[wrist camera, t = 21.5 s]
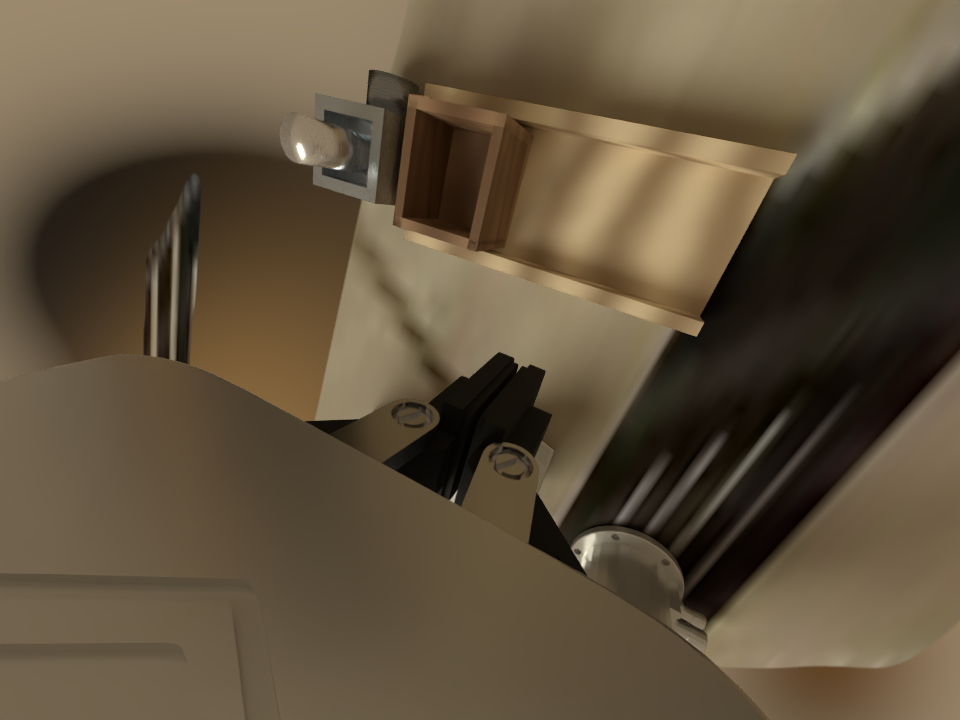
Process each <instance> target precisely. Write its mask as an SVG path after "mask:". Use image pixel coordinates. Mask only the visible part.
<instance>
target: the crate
mask: <svg viewBox="0 0 960 720" xmlns="http://www.w3.org/2000/svg"><path fill="white" fill-rule="evenodd" d="M533 137H534V136H532V135H531V134H530V133H529V132H528V131H527V130H525V129H524V128H523V127H522V126H521V125H519V124H518V123H517V122H516V121H515V120H513V119H512V118H511V117H510V116H509V115H508V114H504V113H499V112H495V111H490V110H485V109H480V108H475V107H470V106H465V105H460V104H455V103H451V102H446V101H441V100H436V99H431V98H426V97H421V96H416V95H412V94H409V98H408V106H407V114H406V122H405V130H404V138H403V146H402V155H401V163H400V171H399V179H398V187H397V195H396V204H395V212H394V220H393V225H395V226H398V227H401V228H404V229H407V230H410V231H413V232H416V233H419V234H422V235H425V236H429V237H432V238H435V239H438V240H441V241H444V242H447V243H450V244H453V245H456V246H459V247H462V248H465V249H469V250H472V251H475V252H478V251H484V250H491V249H497V248H504V247H505V244H506V240H507V236H508V233H509V229H510V225H511V221H512V217H513V213H514V209H515V206H516V202H517V198H518V194H519V190H520V186H521V183H522V179H523V175H524V171H525V167H526V163H527V160H528V156H529V152H530V148H531V144H532V140H533Z"/></svg>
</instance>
